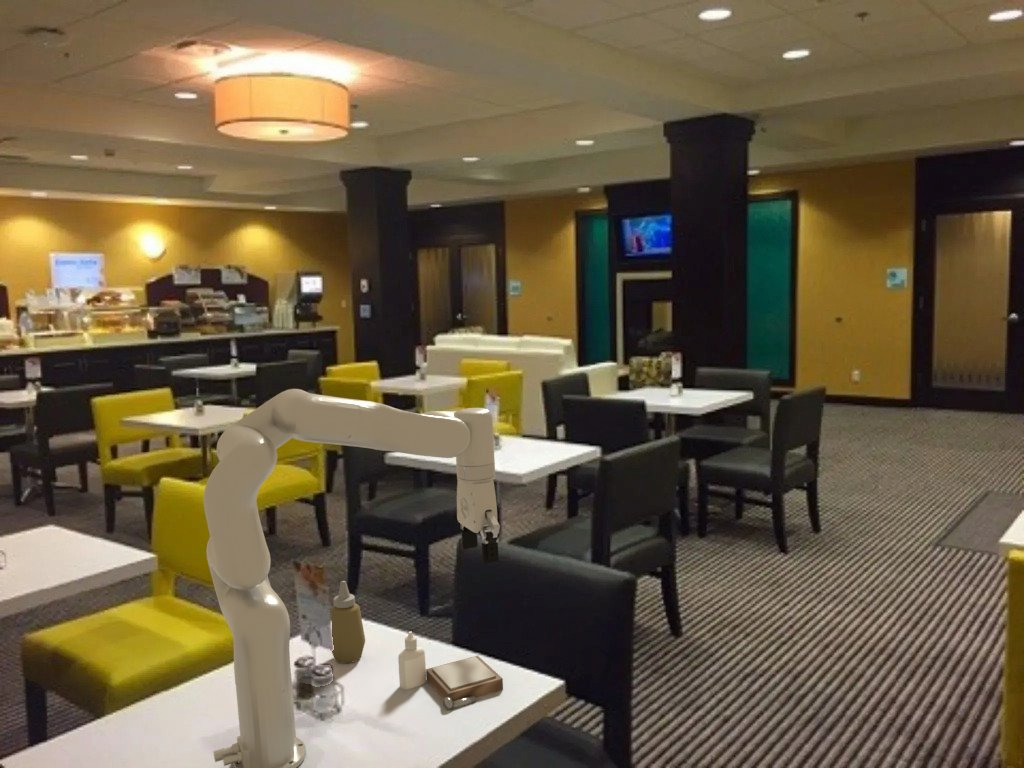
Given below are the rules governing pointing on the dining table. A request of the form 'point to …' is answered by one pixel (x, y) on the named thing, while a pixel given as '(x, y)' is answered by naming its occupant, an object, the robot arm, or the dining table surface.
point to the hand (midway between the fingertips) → (480, 554)
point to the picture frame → (464, 679)
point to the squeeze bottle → (346, 627)
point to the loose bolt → (457, 702)
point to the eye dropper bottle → (412, 664)
